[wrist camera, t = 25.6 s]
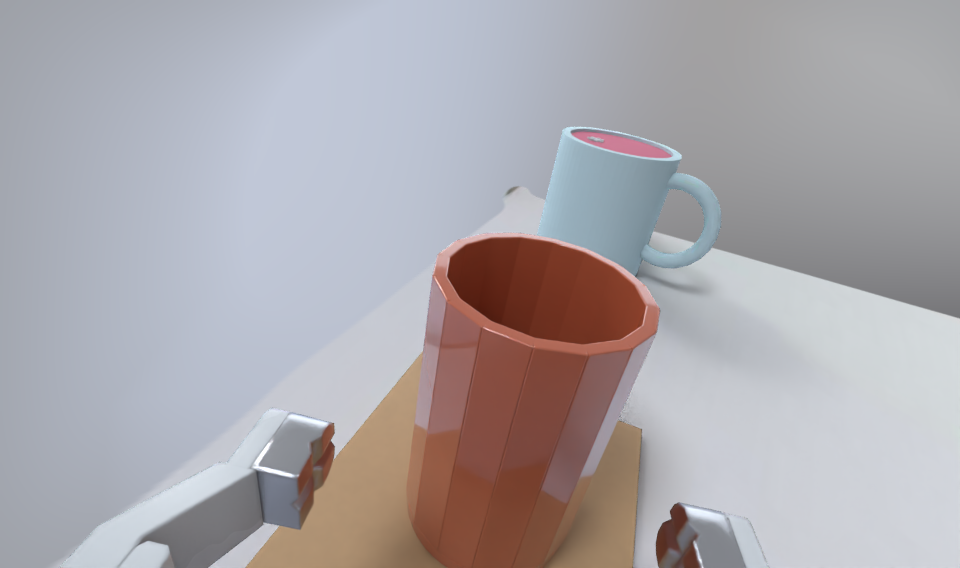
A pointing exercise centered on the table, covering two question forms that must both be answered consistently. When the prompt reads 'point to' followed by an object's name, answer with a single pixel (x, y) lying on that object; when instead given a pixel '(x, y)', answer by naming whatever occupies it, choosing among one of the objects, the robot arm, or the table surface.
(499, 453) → the cup
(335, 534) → the tan rectangular board
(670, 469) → the table surface
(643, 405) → the table surface
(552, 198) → the mug
